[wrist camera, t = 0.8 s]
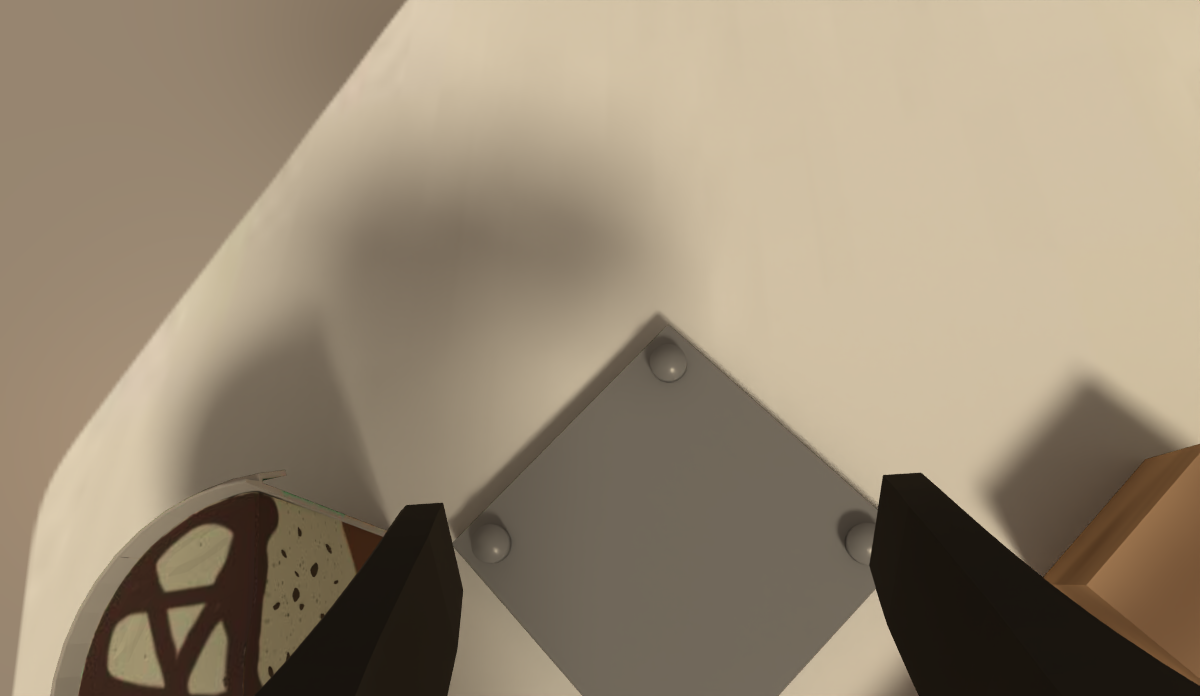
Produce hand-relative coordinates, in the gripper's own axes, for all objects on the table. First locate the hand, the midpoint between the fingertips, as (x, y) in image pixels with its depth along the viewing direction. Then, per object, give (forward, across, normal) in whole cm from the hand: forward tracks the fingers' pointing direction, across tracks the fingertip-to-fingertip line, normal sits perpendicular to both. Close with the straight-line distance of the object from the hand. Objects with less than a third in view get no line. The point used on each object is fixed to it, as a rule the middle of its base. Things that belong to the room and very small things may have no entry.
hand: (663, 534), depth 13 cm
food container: (+10, +13, +16) cm, 23 cm away
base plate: (+12, -1, +12) cm, 17 cm away
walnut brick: (+9, -17, +12) cm, 23 cm away
